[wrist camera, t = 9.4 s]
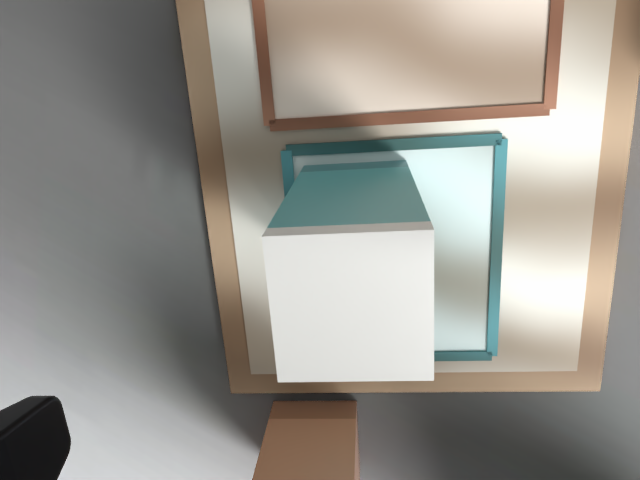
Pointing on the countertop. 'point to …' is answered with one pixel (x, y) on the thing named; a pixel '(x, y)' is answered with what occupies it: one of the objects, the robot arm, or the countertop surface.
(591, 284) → the colouring board
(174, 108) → the countertop surface
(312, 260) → the teal white tall block
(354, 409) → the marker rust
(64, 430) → the robot arm
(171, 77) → the countertop surface
